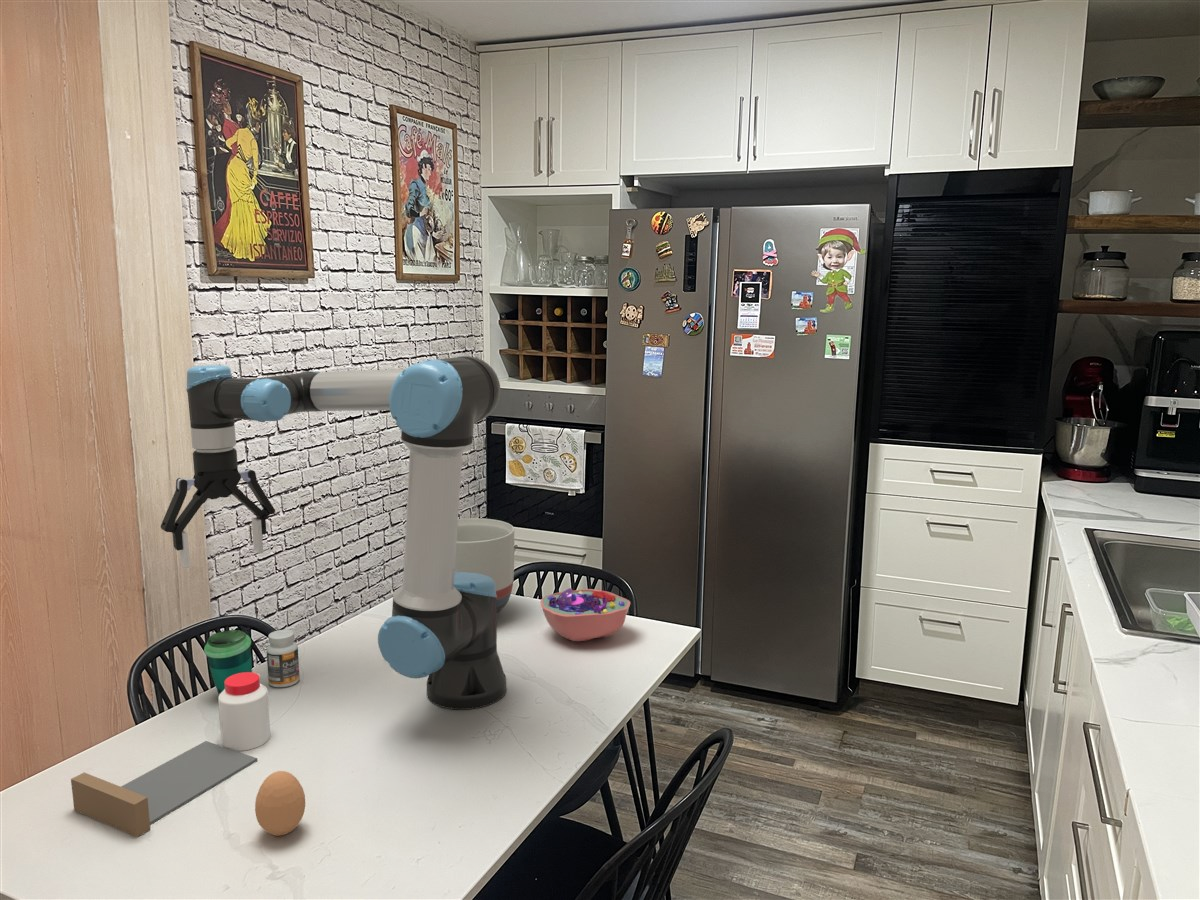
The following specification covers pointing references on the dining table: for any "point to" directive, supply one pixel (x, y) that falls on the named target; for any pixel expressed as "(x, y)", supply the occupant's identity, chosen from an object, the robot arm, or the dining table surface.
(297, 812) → the egg
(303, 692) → the dining table surface
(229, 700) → the pill bottle
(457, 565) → the planter
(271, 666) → the pill bottle
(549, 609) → the cell model
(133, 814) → the track
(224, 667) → the cup
